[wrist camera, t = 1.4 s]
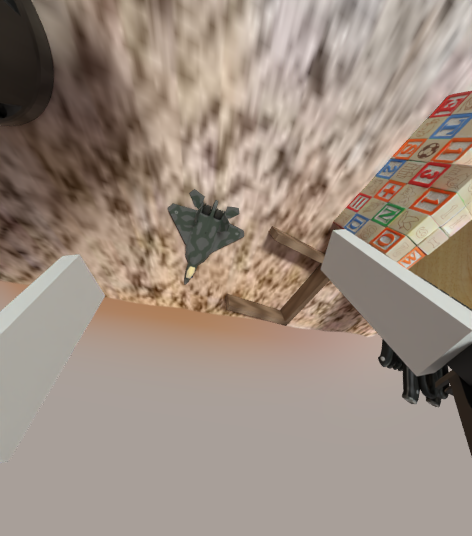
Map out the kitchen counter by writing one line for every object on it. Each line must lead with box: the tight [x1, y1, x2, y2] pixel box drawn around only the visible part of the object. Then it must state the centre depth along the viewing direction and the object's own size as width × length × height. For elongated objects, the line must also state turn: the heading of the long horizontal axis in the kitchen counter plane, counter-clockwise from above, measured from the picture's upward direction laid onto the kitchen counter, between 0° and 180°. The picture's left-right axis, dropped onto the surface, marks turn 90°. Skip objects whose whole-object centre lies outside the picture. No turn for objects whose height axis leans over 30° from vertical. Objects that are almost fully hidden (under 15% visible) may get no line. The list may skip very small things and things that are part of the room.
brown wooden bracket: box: [225, 226, 330, 326], centre depth 38 cm, size 16×18×4 cm
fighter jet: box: [168, 189, 244, 284], centre depth 32 cm, size 13×18×4 cm
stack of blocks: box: [334, 91, 472, 269], centre depth 26 cm, size 21×6×12 cm, turn 147°
